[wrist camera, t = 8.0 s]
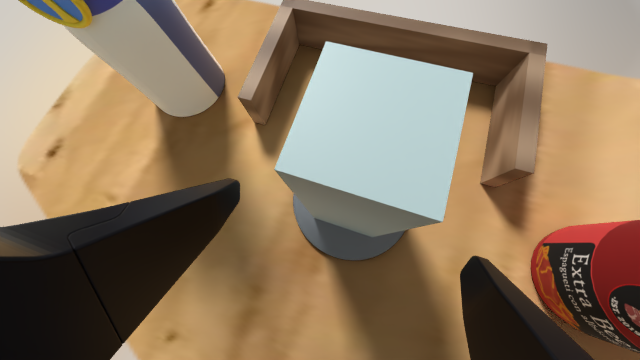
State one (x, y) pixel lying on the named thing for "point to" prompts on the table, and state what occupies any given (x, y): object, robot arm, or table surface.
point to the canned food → (593, 279)
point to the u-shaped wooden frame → (425, 46)
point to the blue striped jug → (144, 48)
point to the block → (375, 140)
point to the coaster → (341, 237)
